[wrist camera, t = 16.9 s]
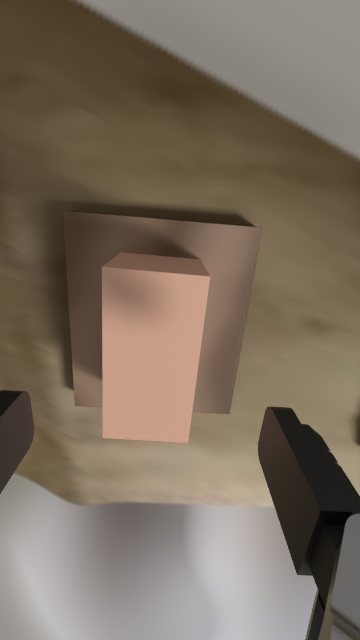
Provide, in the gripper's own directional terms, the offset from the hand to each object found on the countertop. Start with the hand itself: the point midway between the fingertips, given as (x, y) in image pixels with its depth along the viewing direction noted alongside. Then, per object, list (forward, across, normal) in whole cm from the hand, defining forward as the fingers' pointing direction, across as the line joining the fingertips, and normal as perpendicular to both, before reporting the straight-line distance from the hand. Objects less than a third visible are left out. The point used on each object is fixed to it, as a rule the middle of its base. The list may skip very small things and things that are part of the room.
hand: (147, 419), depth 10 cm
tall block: (+8, 0, +6) cm, 10 cm away
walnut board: (+12, 0, +1) cm, 12 cm away
